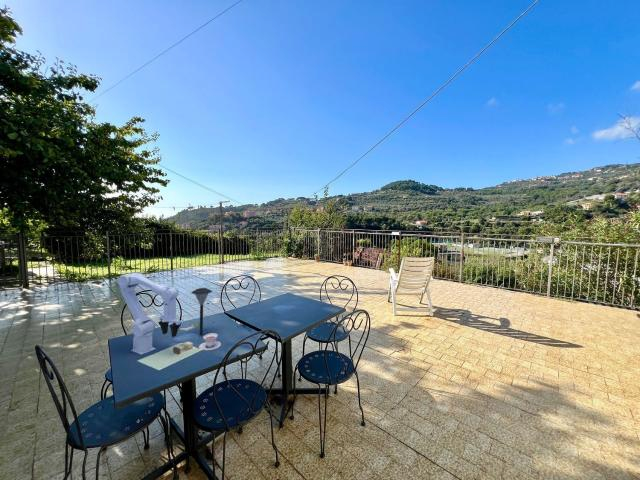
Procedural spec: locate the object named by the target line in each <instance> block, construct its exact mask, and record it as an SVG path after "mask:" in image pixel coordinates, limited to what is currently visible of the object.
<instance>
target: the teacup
mask: <svg viewBox="0 0 640 480" xmlns="http://www.w3.org/2000/svg"><path fill="white" fill-rule="evenodd" d="M202 336H203V337H202V338H203V339H204V341H205V342H202V343H201V344H199V346H198V348H199V349H202V350H201V351H213V350H217V349H219V348H220V347H221V346H222V343H221V342H220V341H217V339H218V336H219V335H218V334H217V333H213V332H211V333H207V334H205V335H202Z"/></svg>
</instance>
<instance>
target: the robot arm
mask: <svg viewBox="0 0 640 480" xmlns="http://www.w3.org/2000/svg"><path fill="white" fill-rule="evenodd" d="M117 284H118V287H119V289H120V293H121V295H122V297H123V299H124V301H125V304H126V306H127V308H128V310H129V312H130V314H131V316H132V319H133V323H132V325H131V327H132V333H133V335H134V336H133V339H132V349H131V350H130V351H131V352H133V353H136V354H139V355H143V354H144V355H145V354H146V353H149V352H152V351H154V350H156V349H157V348H155V347H153V334H154V331H155V330H156V323H155V321H154V320H153V319H152V318H151V317H150V316H148V315H146V313H145V311H144V309H143V307H142V304H141V302H140V300H139V298H138V297H137V295H136V292H135V290H136V288H137V287H138V285H142V286H144V287H146V288H148V289H150V290H151V292H152V293H154V294H156V295H159V296H160V297H161V299H162V300H163V301H162V302H163V315H161V316H159V321H158V325H159V326H160V328H161V333H162V335H166V334H168V329H169V328H170V332H171V333H170V334H171V337H172V338H174V337H177V335H178V331H179V329H180V328H181V325H182V323H181V320H180V319H178V317H177V297H179V295H180V293H179V290H178V289H177V288H176V287H174V286H173V287H170V286H167V285H165V284H163V282H161V281H160V282H158V281H157V282H154V281H153V280H151V279H149V278H147V277H145V276H144V275H143V274H142V273H140V272H137V271H135V272H132V273H127V274H121V275H120V276H119V277H118V280H117ZM170 323H171V324H170Z"/></svg>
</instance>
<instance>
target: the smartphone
mask: <svg viewBox="0 0 640 480" xmlns="http://www.w3.org/2000/svg"><path fill="white" fill-rule="evenodd" d="M190 324H191V325H192V326H191V327H188V328H183V327H179V329H178V331H179V330H181V331H180V332H184V331H188V332H190V331H192V330H194V329H197V328H198V327H200V322H199V323H198V322H192V323H190Z"/></svg>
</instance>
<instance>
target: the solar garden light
mask: <svg viewBox="0 0 640 480" xmlns="http://www.w3.org/2000/svg"><path fill="white" fill-rule="evenodd" d="M212 292H213V291H212V290H211V289H210V288H209V289H208V288H207V287H198V288H196V289H194V290H193V291H191V294H193V295H195V297H196V299H197V301H198V303H199V307H200V308H199V323H200V326H199V336H200V337H202V336H204V335H203V334H204V333H203V331H204V329H203V327H204V304H205V302H206V300H207V297H208V295H209V294H210V293H212Z"/></svg>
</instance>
